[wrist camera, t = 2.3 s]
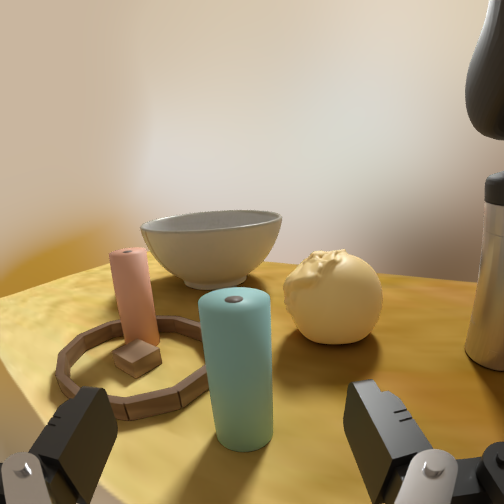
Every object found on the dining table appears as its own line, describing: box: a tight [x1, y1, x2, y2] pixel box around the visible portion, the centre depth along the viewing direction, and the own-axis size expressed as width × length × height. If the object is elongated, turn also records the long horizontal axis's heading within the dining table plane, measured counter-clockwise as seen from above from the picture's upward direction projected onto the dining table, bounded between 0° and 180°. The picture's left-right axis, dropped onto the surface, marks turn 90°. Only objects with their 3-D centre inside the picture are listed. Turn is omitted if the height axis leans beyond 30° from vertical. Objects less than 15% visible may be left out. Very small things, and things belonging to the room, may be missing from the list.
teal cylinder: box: [198, 287, 273, 452], centre depth 22 cm, size 5×5×12 cm
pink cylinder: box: [109, 247, 160, 346], centre depth 38 cm, size 5×5×12 cm
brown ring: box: [55, 316, 209, 421], centre depth 33 cm, size 19×19×2 cm
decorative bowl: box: [140, 210, 282, 290], centre depth 62 cm, size 27×27×12 cm
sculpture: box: [283, 249, 383, 344], centre depth 38 cm, size 11×12×11 cm
